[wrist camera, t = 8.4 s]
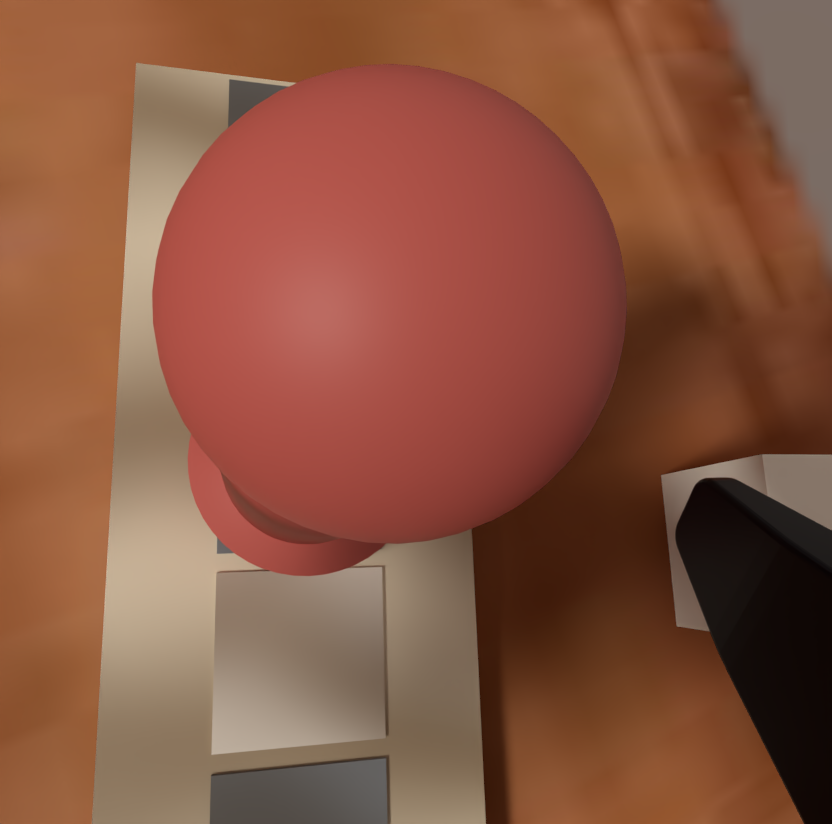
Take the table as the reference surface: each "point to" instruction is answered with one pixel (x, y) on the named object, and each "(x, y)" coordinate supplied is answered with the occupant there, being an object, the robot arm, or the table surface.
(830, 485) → the white cube
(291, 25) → the table surface
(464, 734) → the track board
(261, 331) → the pawn
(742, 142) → the table surface
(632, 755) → the table surface
